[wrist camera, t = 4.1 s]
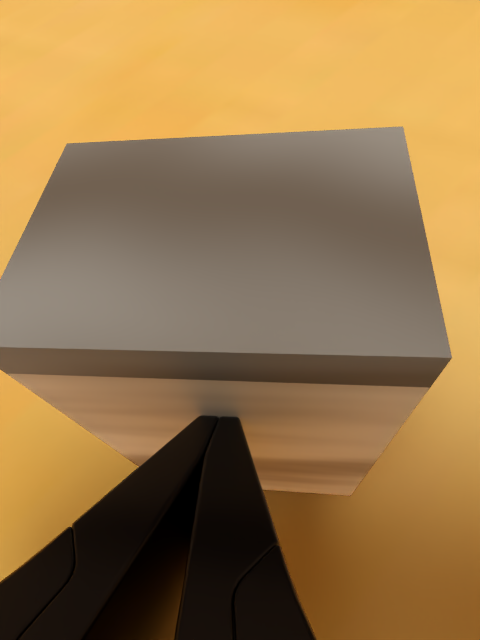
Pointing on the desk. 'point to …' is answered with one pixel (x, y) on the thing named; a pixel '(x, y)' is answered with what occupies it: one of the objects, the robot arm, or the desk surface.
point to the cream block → (231, 297)
